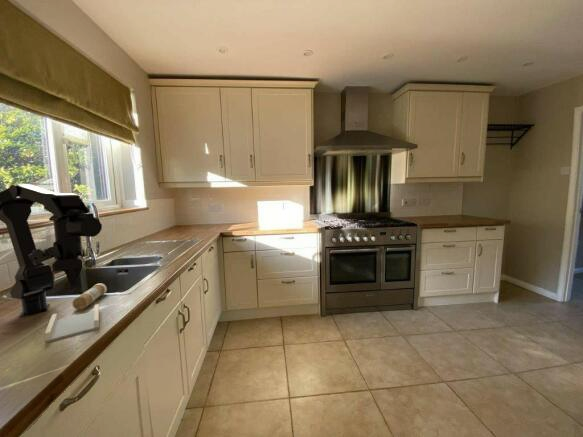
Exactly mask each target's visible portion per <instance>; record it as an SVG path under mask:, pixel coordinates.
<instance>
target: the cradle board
mask: <svg viewBox="0 0 583 437" xmlns="http://www.w3.org/2000/svg"><path fill="white" fill-rule="evenodd" d="M93 309H94V310H93V311H89V312H84V313H80V314H76V315H72V316H68V317H67V316H66V317H64V318H59V319H58V313H53V314H51V317H50V319H49V322H48V325H47V327H46V330H45V332H44V338H45V339H44V340H45V343H46V344H47V343H50V342H54V341H58V340H62V339H65V338H69V337H73V336H76V335H80V334H85V333H89V332H91V331H94V330H98V329H100V305H99V303H97V304H94V308H93Z"/></svg>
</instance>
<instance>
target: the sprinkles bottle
mask: <svg viewBox="0 0 583 437" xmlns="http://www.w3.org/2000/svg"><path fill="white" fill-rule="evenodd" d="M107 291H108V289H107V285H105V283H96V284H94V285H93V286H92V287H91V288H89V289H87V290H86V291H84V292H83V293H81V294H80V295H79V296H77V297H75V298H74V299H73V301H72V307H73V308H74V309H75V310H76V311H77V310H79V311H81V310H84V309H86V308H87V307H88V306H89V305H91V304H92V303H94V302H95V301H96V300H97V299H99V297H101V296H103V295H104V294H106V292H107Z"/></svg>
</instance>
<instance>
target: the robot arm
mask: <svg viewBox="0 0 583 437" xmlns="http://www.w3.org/2000/svg"><path fill="white" fill-rule="evenodd" d="M36 203H37V204H39V205H43V209H44V210H46V211H47V212H49V213H51V214H52V215H51V216H50V217H49V218H48V220H49V222H50V221H51V222H53V228H54V230H53V231H54V238H55V239H54V241H53V242H52V243H53V244H52V245H49V246H46V247H44V248H43V247H42V248H41V247H39V248H36V244H35V241H34V240H35V239H34V238H33V235H32V230H31V227H30V225H29V222H28V220H29V217H30V216H31V214H32V207H33V205H35V204H36ZM0 221H1V222H2V223H3V224H5V226H6V228H7V229H6V230H7V232H8V236H9V238H10V242H11V243H12V244H11V245H12V247H13V251H14V254H15V257H16V260H17V264H18V266H19V267H18V270H17V271H16V273H15V276H14V280H15V283H14V284H13V286H12V288H11V289H10V291H9V294H10V296H11V299H16V300H20V302H21V309H22V310H21V313H20V314H19V315H18V317H19V318H23V317H26V316H33V315H37V314H40V313H44V312H48V311H49V308H50V307H51V304H50V303H48V302H47V296H46V295H47V294H46V292H49V291H53V289H54V285H55V275H54V274H53V272H61V271H62V272H64V274H65V276H66V278H67V281H68V283H69V284H70V286H71V287H75V286H77V283H78V280H79V277H80V275H81V272H82V270H83V266H84V264H85V259H83V258H85V257H86V249H84V248H83V246H82V237H87V238H88V237H89V238H94V237H96V236H98V235H99V234H100V233H101V231H102V227H103V225H102V223H101V221H100V219H98V218H96V217H94V213H91V212H90V209H89V208H88V207H87V205H86V204H85V203H84V201H83V199H82V198H81V196H80V195H79V194H77V193H71V192H70V193H67V192H66V193H64V192H54V191H51V190H48V189H45V188H42V187H39V186H36V185H35V184H31V183H27V184H26V183H14V184H11V185H10V186H9V187H8V188H6V189H4V190H1V191H0ZM52 258H54V259H55V261H53V262H52V264H51V265H49V264H45V263H43V262H46V261H48V260H50V259H52ZM51 266H52V267H51Z"/></svg>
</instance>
